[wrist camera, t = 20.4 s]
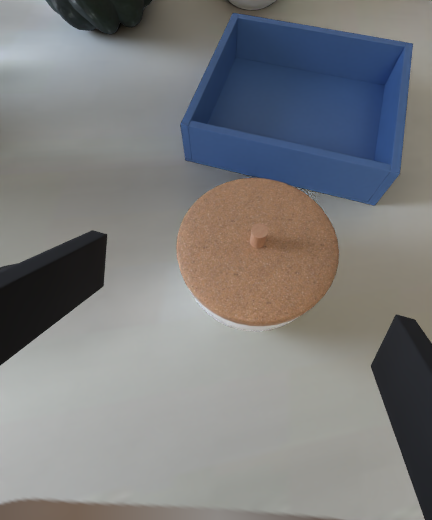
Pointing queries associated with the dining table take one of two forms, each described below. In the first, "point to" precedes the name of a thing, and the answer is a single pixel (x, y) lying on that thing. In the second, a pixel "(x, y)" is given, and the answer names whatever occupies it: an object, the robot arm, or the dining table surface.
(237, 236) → the trinket box
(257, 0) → the teacup
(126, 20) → the squash
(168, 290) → the dining table surface
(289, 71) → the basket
